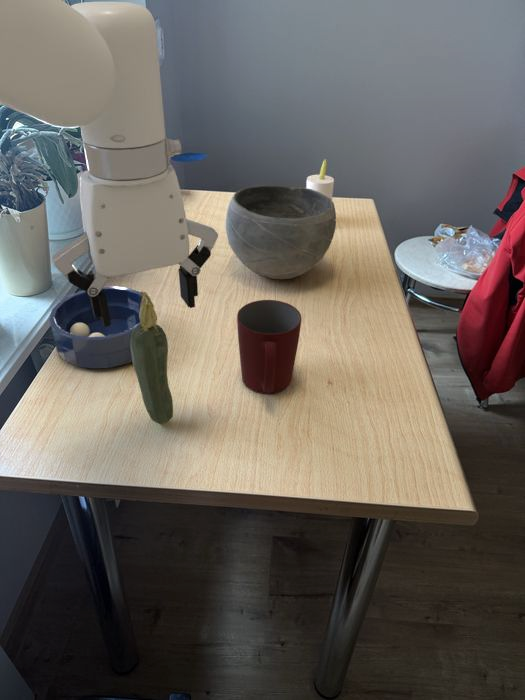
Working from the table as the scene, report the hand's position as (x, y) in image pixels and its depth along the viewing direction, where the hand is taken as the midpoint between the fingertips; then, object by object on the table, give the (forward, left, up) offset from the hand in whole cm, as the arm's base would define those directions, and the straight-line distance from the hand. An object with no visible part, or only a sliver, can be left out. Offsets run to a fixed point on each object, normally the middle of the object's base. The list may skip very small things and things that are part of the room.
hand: (147, 311), depth 60 cm
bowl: (+35, +34, -18) cm, 52 cm away
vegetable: (0, 0, -18) cm, 18 cm away
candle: (+55, +53, -18) cm, 78 cm away
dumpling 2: (-4, +19, -16) cm, 25 cm away
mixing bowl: (-2, +22, -18) cm, 28 cm away
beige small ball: (-6, +23, -16) cm, 29 cm away
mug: (+17, +2, -18) cm, 25 cm away
